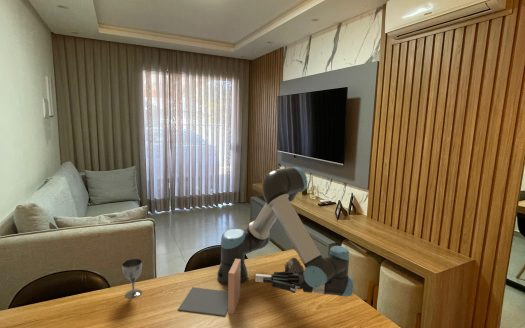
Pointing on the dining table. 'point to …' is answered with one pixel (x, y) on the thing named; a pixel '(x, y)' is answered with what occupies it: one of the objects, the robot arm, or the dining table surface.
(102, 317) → the dining table surface
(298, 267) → the fossil
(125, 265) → the wine glass
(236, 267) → the tile
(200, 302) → the mat
